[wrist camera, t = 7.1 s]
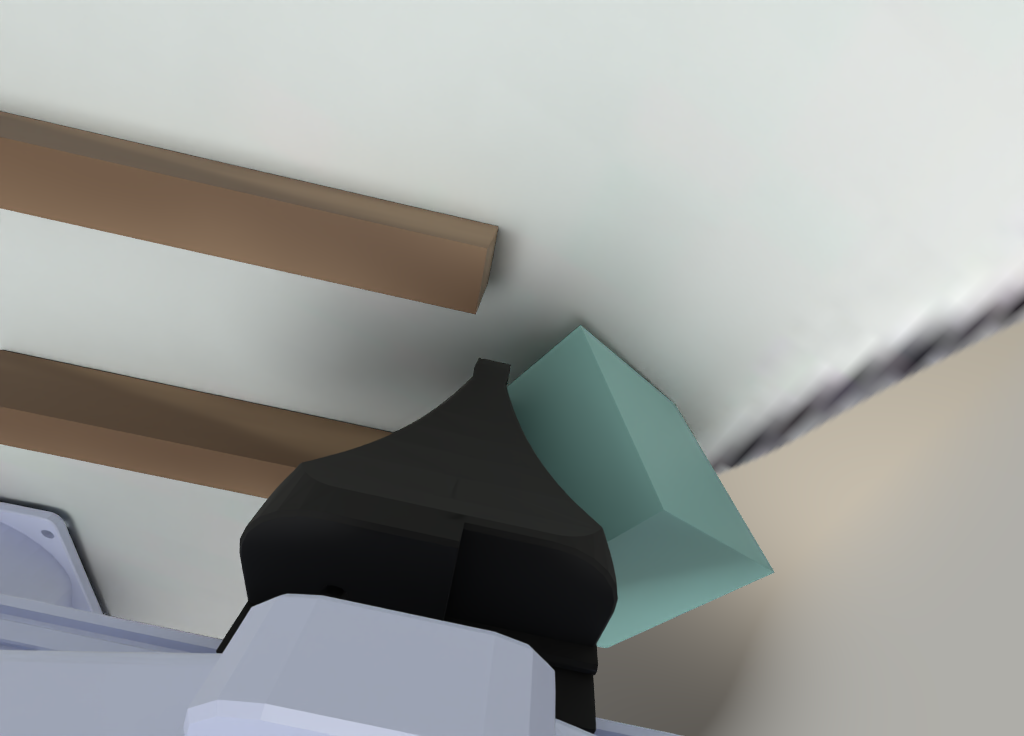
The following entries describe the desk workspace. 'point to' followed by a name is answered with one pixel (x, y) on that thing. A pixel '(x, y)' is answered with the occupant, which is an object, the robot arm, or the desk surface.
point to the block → (635, 483)
